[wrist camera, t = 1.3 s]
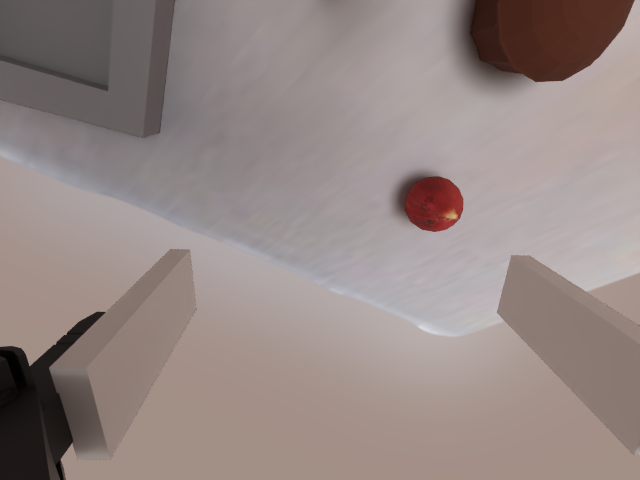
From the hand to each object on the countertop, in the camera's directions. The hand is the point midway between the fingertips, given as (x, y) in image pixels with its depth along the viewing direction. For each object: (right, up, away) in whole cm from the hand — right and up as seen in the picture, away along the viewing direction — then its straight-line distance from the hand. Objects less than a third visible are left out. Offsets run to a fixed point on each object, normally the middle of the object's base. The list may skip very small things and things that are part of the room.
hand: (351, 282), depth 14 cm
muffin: (+18, +24, +19) cm, 35 cm away
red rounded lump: (+10, +7, +26) cm, 29 cm away
